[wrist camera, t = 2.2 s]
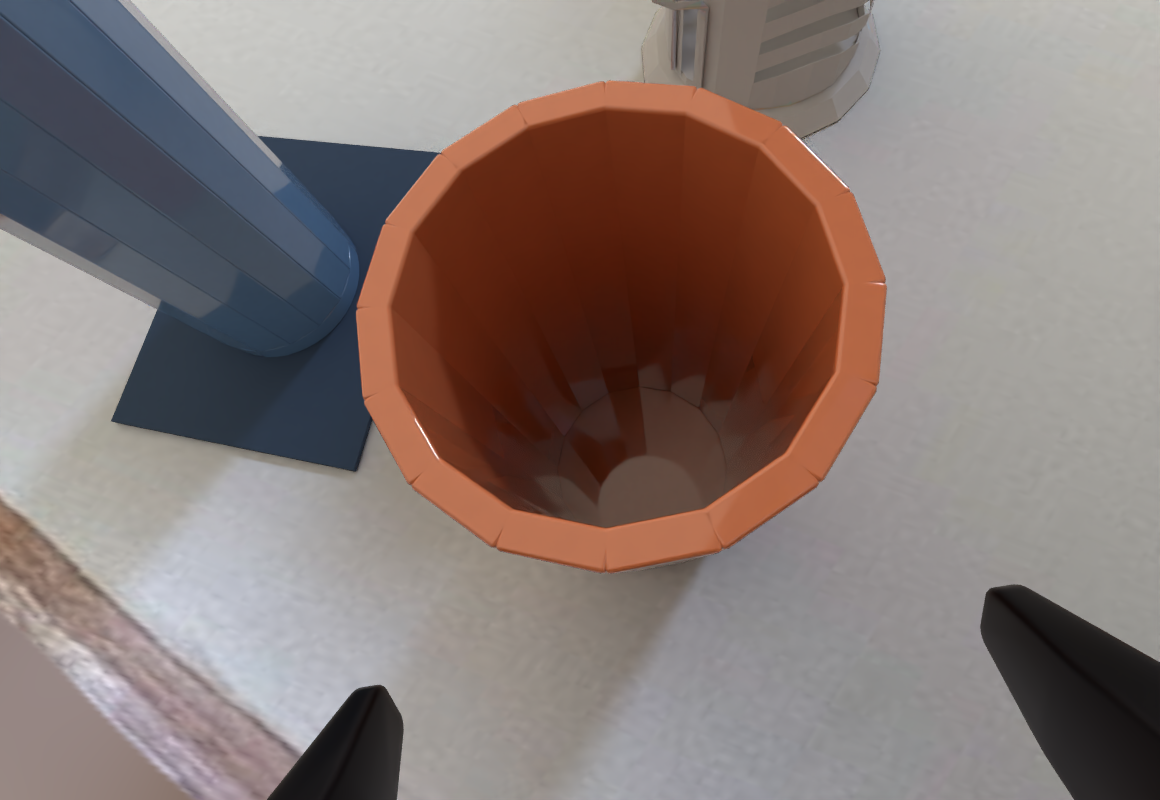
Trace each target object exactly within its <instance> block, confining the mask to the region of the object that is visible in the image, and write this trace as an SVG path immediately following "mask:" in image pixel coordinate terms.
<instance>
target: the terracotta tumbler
mask: <svg viewBox="0 0 1160 800" xmlns="http://www.w3.org/2000/svg"><path fill="white" fill-rule="evenodd" d="M885 280H886V279H885V275H884V273H883V270H882V268H881V265H880V262H879V260H878V257H877V255H876V252H875V249H874V247H873V244H872V242H871V239H870V236H869V234H868V231H867V228H866V226H865V223H864V221H863V218H862V215H861V213H860V210H859V208H858V205H857V202H856V200H855V197H854V195H853V193H852V192H850V189H849V187H848V186H847V185H846V184H845V183H844V182H843V181H842V180H841V179H840V178H839V177H838V176H837V175H836V174H835V173H834V172H833V171H832V170H831V169H830V168H829V167H828V166H827V165H826V164H825V163H824V162H823V161H822V160H821V159H820V158H819V157H818V156H817V155H816V154H815V153H814V152H813V151H812V150H811V149H810V148H809V147H808V146H807V145H806V144H805V143H804V142H803V141H802V140H801V139H800V138H799V137H798V136H797V135H796V134H795V133H794V132H793V131H792V130H791V129H790V128H789V127H788V126H786V125H783V124H782V123H781V122H780V121H778V120H776V119H774V118H771V117H769V116H767V115H764V114H762V113H760V112H757V111H755V110H753V109H750V108H748V107H746V106H743V105H741V104H739V103H736V102H734V101H732V100H729V99H727V98H725V97H722V96H720V95H718V94H715V93H713V92H711V91H708V90H706V89H704V88H698V89H697V88H696V87H695V86H689V85H673V84H658V83H642V82H627V81H611V80H609V81H607V82H606V83H605V82H604V81H600V82H596V83H592V84H588V85H584V86H581V87H577V88H573V89H569V90H565V91H561V92H558V93H554V94H550V95H546V96H542V97H538V98H534V99H531V100H527V101H523V102H520V103H518V106H517V105H512V106H511V107H509V108H508V109H506V110H505V111H503V112H501V113H500V114H498V115H497V116H495V117H494V118H492V119H490V120H489V121H487V122H486V123H484V124H483V125H481V126H480V127H478V128H476V129H475V130H473V131H472V132H470V133H469V134H467V135H465V136H464V137H462V138H461V139H459V140H458V141H456V142H454V143H453V144H451V145H450V146H448V147H447V148H445V149H444V150H442V152H441V154H439V155H437V156H436V157H435V159H434V160H433V161H432V162H431V164H430V165H429V166H428V167H427V169H426V170H425V171H424V172H423V174H422V175H421V176H420V177H419V179H418V180H417V181H416V182H415V184H414V185H413V186H412V187H411V189H410V190H409V191H408V192H407V194H406V195H405V196H404V197H403V199H402V200H401V201H400V202H399V204H398V205H397V206H396V208H395V209H394V210H393V211H392V213H391V214H390V215H389V216H388V218H387V219H386V221H385V224H384V225H383V226H382V228H381V232H380V235H379V238H378V241H377V244H376V247H375V250H374V253H373V256H372V259H371V262H370V265H369V268H368V271H367V275H366V278H365V281H364V284H363V287H362V290H361V293H360V296H359V299H358V302H357V310H356V321H357V334H358V347H359V359H360V372H361V384H362V396H363V399H364V400H365V401H364V404H365V407H366V408H367V410H368V412H369V414H370V416H371V417H372V419H373V421H374V423H375V425H376V427H377V428H378V430H379V432H380V434H381V436H382V438H383V439H384V441H385V443H386V445H387V447H388V448H389V450H390V452H391V454H392V456H393V458H394V459H395V461H396V463H397V465H398V467H399V469H400V470H401V472H402V474H403V476H404V478H405V479H406V481H407V483H408V484H409V485H411V486H412V488H413V489H414V491H416V492H417V493H418V494H420V495H421V496H422V497H424V498H425V499H427V500H428V501H429V502H431V503H432V504H433V505H435V506H436V507H437V508H439V509H440V510H441V511H443V512H444V513H445V514H447V515H448V516H449V517H451V518H452V519H453V520H455V521H456V522H458V523H459V524H460V525H462V526H463V527H464V528H466V529H467V530H468V531H470V532H471V533H472V534H474V535H475V536H476V537H478V538H479V539H480V540H482V541H483V542H484V543H486V544H487V545H489V546H490V547H493V548H497V549H498V550H499V551H501V552H506V553H510V554H515V555H519V556H524V557H528V558H533V559H537V560H542V561H546V562H551V563H555V564H560V565H564V566H569V567H574V568H578V569H583V570H587V571H592V572H596V573H610V574H614V573H623V572H631V571H640V570H647V569H652V568H657V567H662V566H667V565H672V564H678V563H682V562H686V561H690V560H693V559H697V558H701V557H705V556H708V555H712V554H716V553H719V552H721V551H722V550H725V549H729V548H730V547H732V546H733V545H734V544H736V543H737V542H739V541H740V540H742V539H743V538H745V537H746V536H747V535H749V534H750V533H752V532H753V531H755V530H756V529H758V528H759V527H760V526H762V525H763V524H765V523H766V522H768V521H769V520H770V519H772V518H773V517H775V516H776V515H778V514H779V513H781V512H782V511H783V510H785V509H786V508H788V507H789V506H791V505H792V504H794V503H795V502H796V501H798V500H799V499H801V498H802V497H804V496H805V495H807V494H808V493H809V492H811V491H812V490H814V489H815V488H817V486H818V485H819V483H820V482H822V481H823V480H824V479H825V477H826V476H827V474H828V472H829V471H830V469H831V467H832V466H833V464H834V462H835V460H836V459H837V457H838V455H839V454H840V452H841V450H842V449H843V447H844V445H845V444H846V442H847V440H848V439H849V437H850V435H851V433H852V432H853V430H854V428H855V427H856V425H857V423H858V422H859V420H860V418H861V417H862V415H863V413H864V412H865V410H866V408H867V406H868V405H869V403H870V401H871V400H872V398H873V396H874V395H875V393H876V389H877V387H876V386H877V385H878V383H879V376H880V364H881V353H882V341H883V329H884V317H885V305H886V294H887V286H886V284H885Z"/></svg>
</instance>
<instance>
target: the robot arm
mask: <svg viewBox="0 0 1160 800" xmlns="http://www.w3.org/2000/svg"><path fill="white" fill-rule="evenodd" d="M980 629H981V635H982V638H983V641H984V643H985V645H986V647H987V649H988V651H989V653H990V655H991V656H992V658H993V660H994V662H995V664H996V666H997V668H998V669H999V671H1000V673H1001V675H1002V677H1003V679H1004V681H1005V683H1006V684H1007V686H1008V688H1009V690H1010V692H1011V694H1012V696H1013V697H1014V699H1015V701H1016V703H1017V705H1018V707H1019V709H1020V710H1021V712H1022V714H1023V716H1024V718H1025V720H1026V722H1027V723H1028V725H1029V727H1030V729H1031V731H1032V733H1033V735H1034V736H1035V738H1036V740H1037V742H1038V743H1039V745H1040V747H1041V749H1042V751H1043V752H1044V754H1045V756H1046V757H1047V759H1048V760H1049V762H1050V763H1051V765H1052V767H1053V768H1054V770H1055V771H1056V773H1057V774H1058V776H1059V777H1060V779H1061V780H1062V782H1063V783H1064V785H1065V786H1066V788H1067V789H1068V791H1069V792H1070V794H1071V795H1072V797H1073V798H1074V800H1160V662H1158V661H1156V660H1154V659H1153V658H1151V657H1149V656H1147V655H1146V654H1144V653H1142V652H1140V651H1138V650H1137V649H1135V648H1133V647H1131V646H1130V645H1128V644H1126V643H1124V642H1123V641H1121V640H1119V639H1117V638H1115V637H1114V636H1112V635H1110V634H1108V633H1107V632H1105V631H1103V630H1101V629H1100V628H1098V627H1096V626H1094V625H1092V624H1091V623H1089V622H1087V621H1085V620H1084V619H1082V618H1080V617H1078V616H1077V615H1075V614H1073V613H1071V612H1069V611H1068V610H1066V609H1064V608H1062V607H1061V606H1059V605H1057V604H1055V603H1054V602H1052V601H1050V600H1048V599H1046V598H1045V597H1043V596H1041V595H1039V594H1038V593H1036V592H1034V591H1032V590H1031V589H1029V588H1027V587H1024V586H1022V585H1007V586H1000V587H994V588H991V589H989V590H988V591H987V592H986V596H985V602H984V607H983V613H982V619H981V626H980ZM403 730H404V729H403V720H402V716H401V714H400V712H399V710H398V709H397V707H396V705H395V703H394V702H393V700H392V698H391V696H390V695H389V693H388V691H387V689H386V688H385V687H384V686H382V685H374V686H368V687H361V688H358V689H356V690H355V691H354V692H353V693H352V694H351V695H350V696H349V697H348V699H347V700H346V701H345V702H344V704H343V705H342V706H341V707H340V709H339V710H338V711H337V712H336V714H335V715H334V716H333V717H332V719H331V720H330V721H329V722H328V724H327V725H326V726H325V727H324V729H323V730H322V731H321V732H320V734H319V735H318V736H317V737H316V739H315V740H314V741H313V742H312V744H311V745H310V746H309V747H308V749H307V750H306V751H305V752H304V754H303V755H302V756H301V757H300V759H299V760H298V761H297V762H296V764H295V765H294V766H293V768H292V769H291V770H290V771H289V773H288V774H287V775H286V776H285V778H284V779H283V780H282V781H281V783H280V784H279V785H278V786H277V788H276V789H275V790H274V791H273V793H272V794H271V795H270V796H269V798H268V799H267V800H397V792H398V782H399V771H400V761H401V751H402V741H403Z"/></svg>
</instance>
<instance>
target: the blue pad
mask: <svg viewBox="0 0 1160 800" xmlns="http://www.w3.org/2000/svg"><path fill="white" fill-rule="evenodd" d="M258 137H259V138H260V139H261V140H262V142H263V143H264V144H265V145H266V146H267V147H268V148H269V149H270V150H271V151H272V152H273V153H274V154H275V155H276V157H277V158H278V159H279V160H280V161H281V162H282V163H283V164H284V165H285V166H286V167H287V168H288V169H289V170H290V171H291V173H292V174H293V175H294V176H295V177H296V178H297V179H298V180H299V181H300V182H301V183H302V184H303V185H304V186H305V188H306V189H307V190H308V191H309V192H310V193H311V194H312V195H313V196H314V197H315V198H316V199H317V200H318V201H319V202H320V204H321V205H322V206H323V207H324V208H325V209H326V210H327V211H328V212H329V213H330V214H331V215H332V216H333V217H334V219H335V220H336V221H337V223H338V225H339V226H340V227H341V228H342V229H343V230H344V231H345V232H346V233H347V235H348V236H349V238H350V239H351V240H352V242H353V244H354V246H355V249H356V252H357V255H358V261H359V281H358V287H357V290H356V294H355V297H354V299H353V302H352V304H351V306H350V307H349V309H348V311H347V313H346V314H345V316H344V317H343V319H342V320H341V321H340V322H339V324H338V325H337V326H336V327H335V328H334V329H333V330H332V331H331V332H330V333H329V334H328V335H327V336H325V337H324V338H323V339H321V340H320V341H319V342H317V343H316V344H314V345H312V346H310V347H309V348H306V349H304V350H302V351H300V352H297V353H294V354H290V355H286V356H280V357H260V356H255V355H251V354H248V353H245V352H243V351H240V350H238V349H237V348H234V347H230V346H228V345H226V344H224V343H222V342H220V341H218V340H216V339H214V338H212V337H210V336H208V335H206V334H205V333H203V332H201V331H199V330H197V329H195V328H193V327H191V326H189V325H187V324H185V323H183V322H181V321H179V320H177V319H175V318H173V317H171V316H169V315H168V314H166V313H164V312H162V311H160V310H158V309H157V312H156V314H155V317H154V319H153V321H152V324H151V326H150V329H149V331H148V334H147V336H146V338H145V341H144V343H143V346H142V348H141V350H140V353H139V355H138V358H137V360H136V362H135V365H134V367H133V370H132V372H131V374H130V377H129V379H128V382H127V384H126V386H125V389H124V391H123V394H122V396H121V399H120V401H119V403H118V406H117V408H116V411H115V413H114V415H113V418H112V420H111V421H112V422H116V423H121V424H125V425H130V426H135V427H140V428H145V429H150V430H155V431H160V432H165V433H170V434H175V435H179V436H184V437H189V438H194V439H199V440H204V441H209V442H214V443H219V444H224V445H228V446H233V447H238V448H243V449H248V450H253V451H258V452H263V453H268V454H273V455H277V456H282V457H287V458H292V459H297V460H302V461H307V462H312V463H317V464H322V465H326V466H331V467H336V468H341V469H346V470H351V471H357V467H358V464H359V461H360V457H361V454H362V451H363V448H364V444H365V441H366V438H367V434H368V431H369V428H370V424H371V421H372V417H371V416H370V414H369V412H368V410H367V408H366V407H365V404H364V401H365V400H364V399H363V396H362V384H361V372H360V359H359V347H358V334H357V321H356V310H357V302H358V299H359V296H360V293H361V290H362V287H363V284H364V281H365V278H366V275H367V271H368V268H369V265H370V262H371V259H372V256H373V253H374V250H375V247H376V244H377V241H378V238H379V235H380V232H381V228H382V226H383V225H384V224H385V221H386V219H387V218H388V216H389V215H390V214H391V213H392V211H393V210H394V209H395V208H396V206H397V205H398V204H399V202H400V201H401V200H402V199H403V197H404V196H405V195H406V194H407V192H408V191H409V190H410V189H411V187H412V186H413V185H414V184H415V182H416V181H417V180H418V179H419V177H420V176H421V175H422V174H423V172H424V171H425V170H426V169H427V167H428V166H429V165H430V164H431V162H432V161H433V160H434V159H435V157H436V156H437V155H439V154H441V153H436V152H425V151H414V150H403V149H393V148H382V147H371V146H360V145H349V144H339V143H328V142H317V141H306V140H295V139H284V138H274V137H263V136H258Z"/></svg>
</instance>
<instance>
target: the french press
mask: <svg viewBox="0 0 1160 800" xmlns="http://www.w3.org/2000/svg"><path fill="white" fill-rule="evenodd" d="M867 1H869V0H652V2H654V3H656V4H659V5H661V6H662V7H661V8H660V9H659V10H658V11H657V12H656V14H655V16H654V18H653V21H652V23H651V26H650V28H649V30H648V33H647V35H646V37H645V40H644V42H643V45H642V53H643V67H644V81H645V83H658V84H673V85H689V86H695V87H696V88H697V89H698V88H704V89H706V90H708V91H711V92H713V93H715V94H718V95H720V96H722V97H725V98H727V99H729V100H732V101H734V102H736V103H739V104H741V105H743V106H746V107H748V108H750V109H753V110H755V111H757V112H760V113H762V114H764V115H767V116H769V117H771V118H774V119H776V120H778V121H780V122H781V123H782V124H783V125H786V126H788V127H789V128H790V129H791V130H792V131H793V132H794V133H795V134H796V135H797V136H798V137H799V138H802V137H804V136H806V135H809V134H811V133H813V132H815V131H817V130H819V129H821V128H823V127H825V126H828V125H830V124H832V123H834V122H836V121H838V120H839V119H840V118H841V117H842V116H843V115H844V114H845V113H846V112H847V111H848V110H849V109H850V108H851V107H852V106H853V105H854V103H855V102H856V101H857V100H858V99H859V98H860V97H861V96H862V95H863V94H864V93H865V92H866V91H867V90H868V89H869V86H870V83H871V80H872V76H873V73H874V70H875V67H876V63H877V60H878V57H879V54H880V47H879V42H878V37H877V33H876V28H875V23H874V19H873V14H872V13H871V10H872V7H873V3H874V0H870V6H871V7H870V11H869V10H868V8H867V7H866V6H865V5H864V4H865V3H866V2H867Z"/></svg>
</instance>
